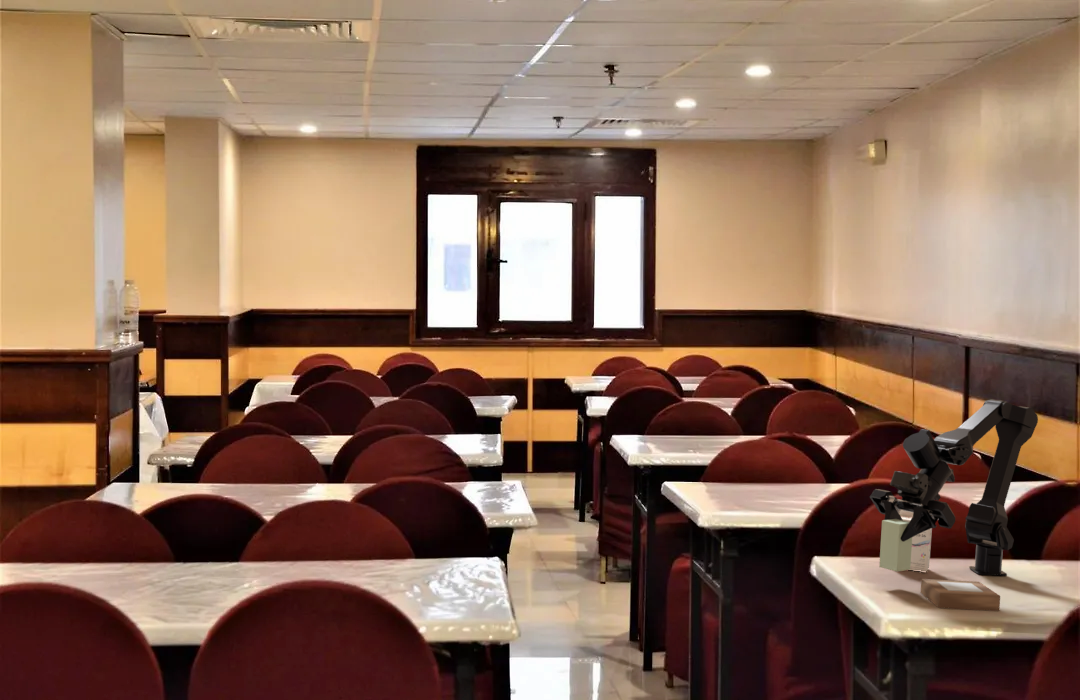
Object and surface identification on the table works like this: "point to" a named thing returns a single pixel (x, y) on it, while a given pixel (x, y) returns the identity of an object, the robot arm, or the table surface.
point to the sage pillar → (894, 546)
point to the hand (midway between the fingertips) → (892, 537)
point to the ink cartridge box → (919, 546)
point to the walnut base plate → (960, 594)
